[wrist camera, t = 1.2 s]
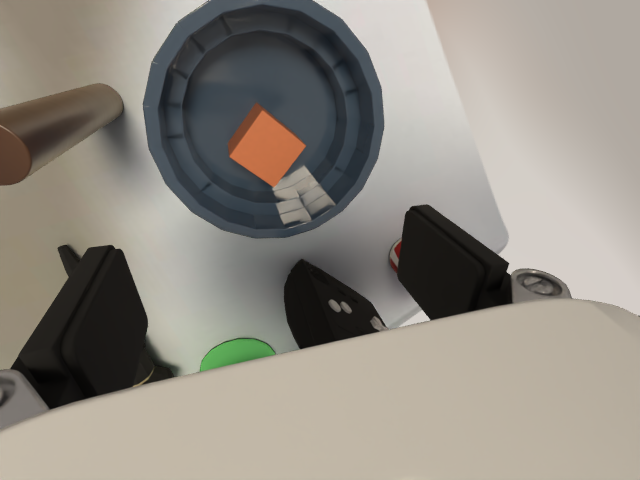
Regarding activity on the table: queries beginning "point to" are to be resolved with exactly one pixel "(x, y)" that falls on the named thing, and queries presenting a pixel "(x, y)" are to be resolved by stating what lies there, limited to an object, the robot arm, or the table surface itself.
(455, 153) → the table surface
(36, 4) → the table surface
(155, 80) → the bowl
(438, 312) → the robot arm
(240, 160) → the block
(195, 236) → the table surface
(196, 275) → the table surface
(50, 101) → the stick
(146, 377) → the microphone
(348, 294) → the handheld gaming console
